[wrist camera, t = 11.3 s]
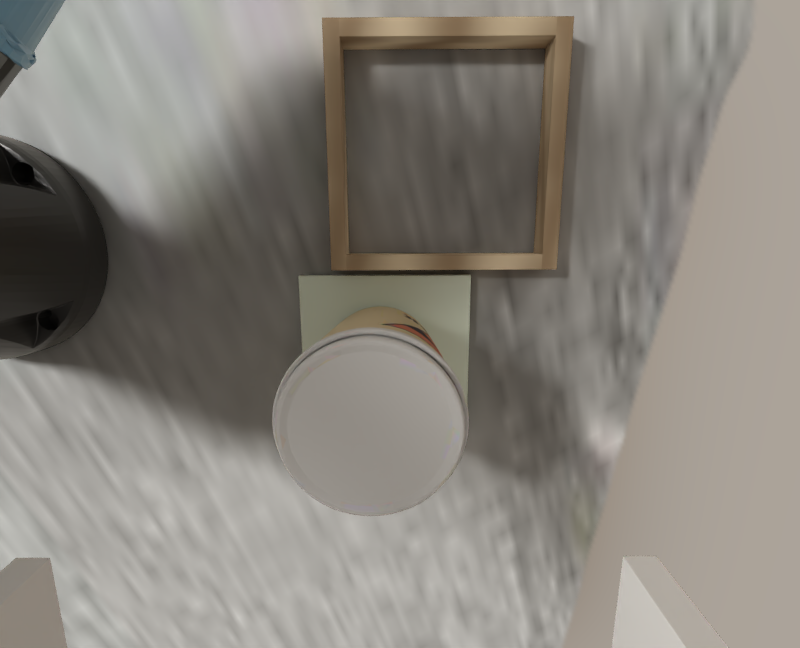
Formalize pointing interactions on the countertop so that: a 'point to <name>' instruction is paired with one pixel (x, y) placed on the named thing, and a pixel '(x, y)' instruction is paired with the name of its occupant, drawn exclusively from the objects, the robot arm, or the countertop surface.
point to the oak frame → (451, 35)
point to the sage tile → (414, 294)
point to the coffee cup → (371, 415)
